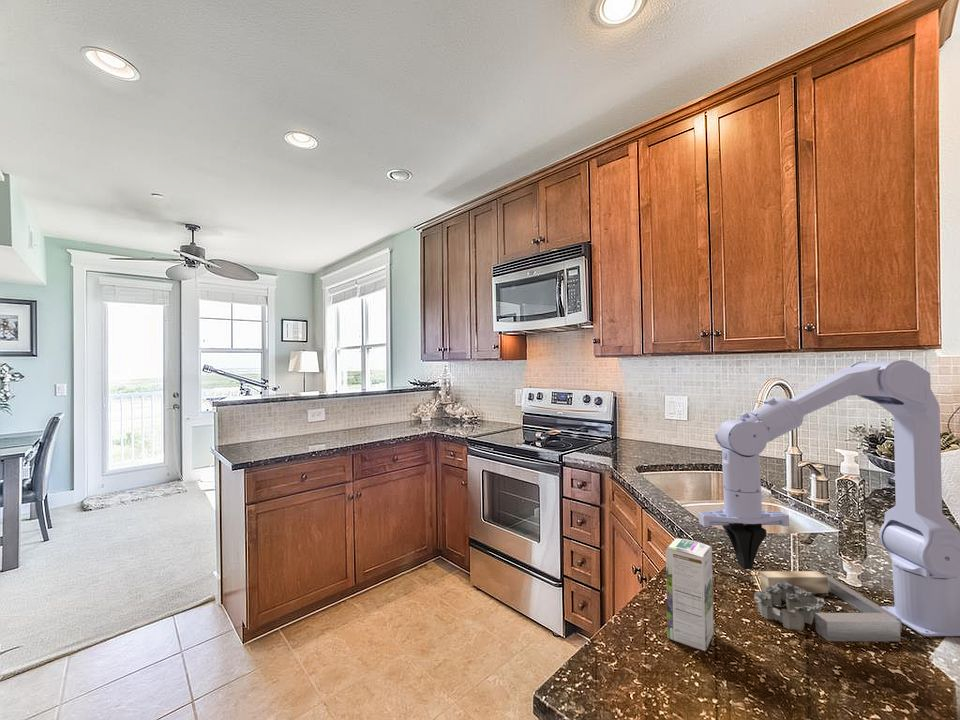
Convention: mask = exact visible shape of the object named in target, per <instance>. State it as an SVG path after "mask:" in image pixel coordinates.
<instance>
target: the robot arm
mask: <svg viewBox="0 0 960 720" xmlns="http://www.w3.org/2000/svg"><path fill="white" fill-rule="evenodd" d="M931 386H932V385H931V372H929V371H927V370H926V369H924V368H923V367H921V366H920V365H918V364H917V363H915V362H913V361H911V360H906V359H897V360H892V361H891V360H889V361H866V360H865V361H856V362H854V363H851V364H850V365H849V366H845V367H842V368H840V369H838V370H837V371H836V372H834V373H833V374H831V375H830V376H828V377H826V378H824V379H823V380H822V381H819V382H818V383H816V384H814V385H812V386H811V387H809V388H807V389H806V390H804V391H802V392H800V393H799V394H797V395H795V396H794V397H792V398H790V399H787V398H784V397H777V398H774V397H768V398H766V399H765V400H763V402H764V404H762V405H761V406H759V407H757V408H755V409H753V410H751V411H749V412H745V411H743V412H742V413H740V414H739V419H733V418H731V419H727V420H725V421H723V422H722V423H720V425H719V426H720V427H718V429H717V430H716V431H717V432H716V433H715V434H714V437H715V438H714V439H715V441H716V443H717V444H718V445H719V446H720V448H721V457H722V459H721V463H722V464H721V465H722V468H721V469H722V487H723V488H722V489H723V509H718V510H711V511H703V512H700V511H699V512H698V523H699V525H701V526H703V527H704V528H710V527H711V526H722V528H723V530H724V532H725V533H726V535H727V537H728V538H729V541H730V543H731V545H732V548H733V550H734V553H735V554H734V555H735V556H736V560H737V565H738V566H739V567H741V569H743V570H753V567H754V564H755V563H754V562H755V559H756V556H757V553H758V550H759V548H760V546H761V544H762V543H763V542H764V540H765V538H767V529H766V528H764V527H762V526H782V527H789V526H790V517H789V516H790V515H789V514H786V513H785V512H783V511H771V510H763V502H762V501H763V500H762V483H761V481H762V480H761V463H760V462H761V461H760V460H761V459H760V454H761V453H762V452H763V451H765V448H766V446H767V443H770V442H772V441H773V440H775V439H778V438H780V437H782V436H783V435H785V434H787V433H789V432H791V431H793V430H795V429H797V428H799V427H801V426H802V425H803V421H804V418H805V417H804V416H806V415H809V414H811V413H813V412H815V411H817V410H819V409H822V408H824V407H826V406H829V405H831V404H833V403H836V402H837V401H840V400H843V399H844V398H847V397H849V396H850V397H851V396H857V397H860V398H862V399H866V400H869V401H870V402H874V403H876V404H878V405H879V406H880V407H882V408H883V409H885V410H886V411H887V412H889V413H890V414H891V415H892V416H893V436H894V438H893V439H894V445H893V447H894V449H893V450H894V481H895V482H894V487H895V488H894V489H895V491H894V492H895V493H894V494H895V505H894V506H892V507H891V508H889V509H888V510H887V511H885V512H884V522H883V524H882V526H881V527H880V530H879V533H878V539H879V541H880V544H881V546H882V547H883V548H884V549H885V550H886V551H887V552H888V554H889V556H888V557H889V559H890V560H891V567H892V568H891V569H892V581H893V582H892V583H893V584H892V585H893V599H894V600H893V601H894V603H893V605H894V606H886V605H885V606H883V605H882V606H880V607H882V608H884V609H885V610H887V611H889V612H890V613H892V614H894V615H895V616H897V617H899V618H900V619H901V622H902V624H903V625H905V626H907V627H908V628H910V629H912V630H914V632H917V633H918V634H920V635H921V636H924V637H960V530H959V529H958V528H957V527H956V526H955V525H954V523H953V522H951V521H950V520H949V518H947V516H945V514H944V513H943V494H942V493H943V489H942V488H943V487H942V484H943V483H942V482H943V481H942V480H943V479H942V454H941V452H942V447H941V444H942V443H941V409H940V403H939V401H938V400H937V398H936V395H935V393H934V392H933V391H932V388H931Z"/></svg>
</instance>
